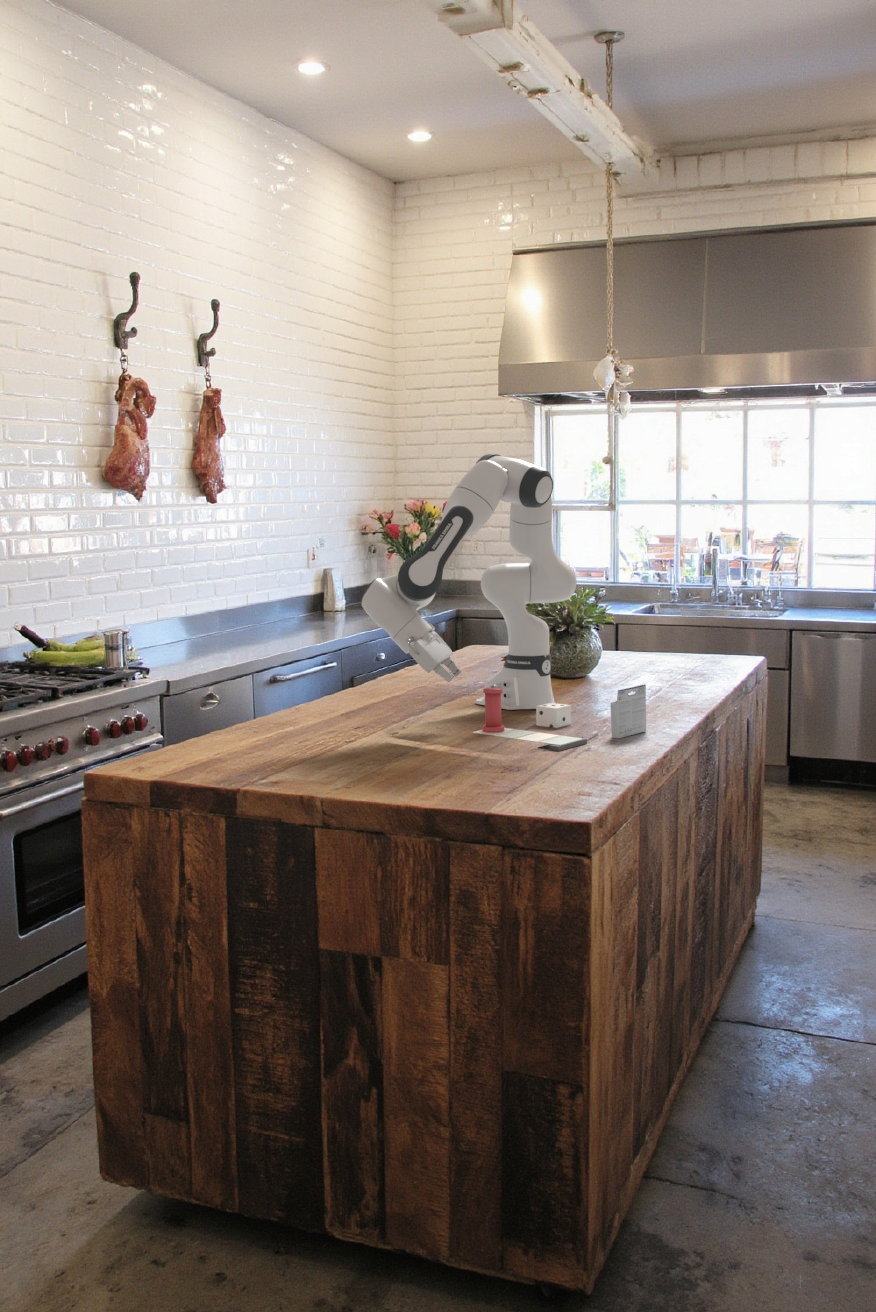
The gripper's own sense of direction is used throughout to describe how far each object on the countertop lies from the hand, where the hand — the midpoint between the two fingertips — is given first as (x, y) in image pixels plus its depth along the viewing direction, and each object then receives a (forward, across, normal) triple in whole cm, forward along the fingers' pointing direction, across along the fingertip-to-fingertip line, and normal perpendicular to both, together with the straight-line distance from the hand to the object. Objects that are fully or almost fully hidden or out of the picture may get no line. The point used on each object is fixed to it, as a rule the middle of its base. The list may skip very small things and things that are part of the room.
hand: (455, 677), depth 275 cm
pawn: (+15, 0, +3) cm, 16 cm away
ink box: (+39, +5, -18) cm, 43 cm away
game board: (+22, -5, -2) cm, 23 cm away
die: (+26, +10, -6) cm, 28 cm away
